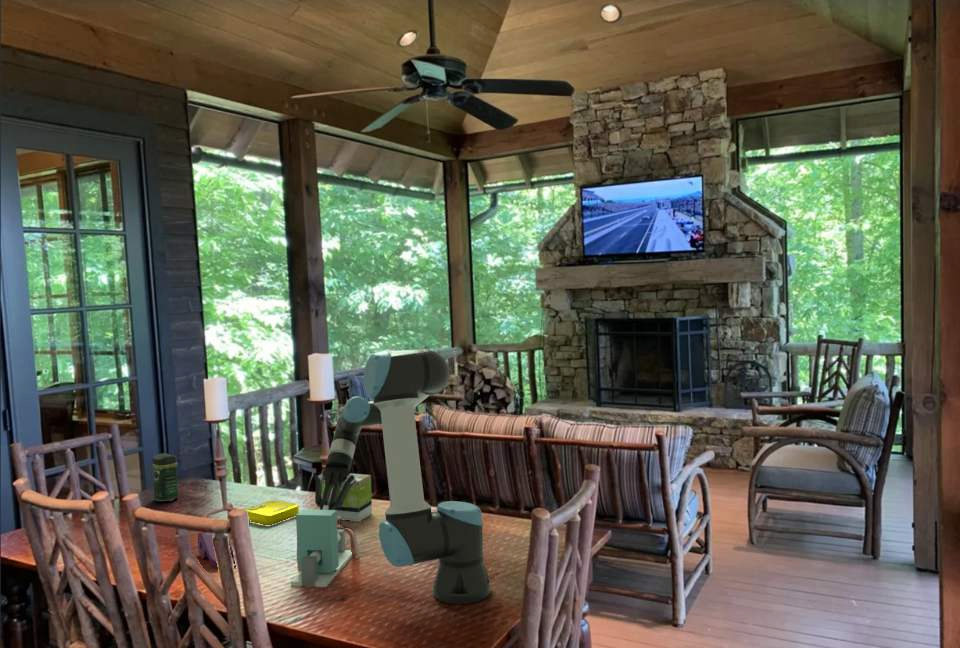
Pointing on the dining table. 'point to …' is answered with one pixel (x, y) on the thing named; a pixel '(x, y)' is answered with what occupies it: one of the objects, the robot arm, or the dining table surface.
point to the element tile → (272, 512)
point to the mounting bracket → (209, 548)
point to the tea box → (356, 499)
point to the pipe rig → (309, 566)
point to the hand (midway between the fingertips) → (322, 528)
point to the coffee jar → (165, 476)
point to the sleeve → (318, 537)
